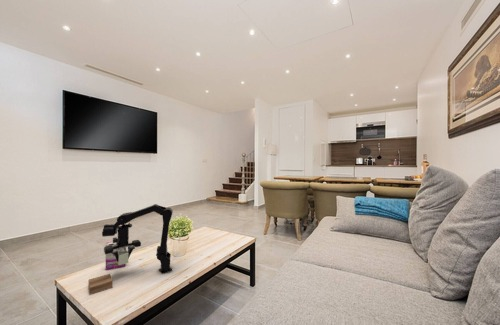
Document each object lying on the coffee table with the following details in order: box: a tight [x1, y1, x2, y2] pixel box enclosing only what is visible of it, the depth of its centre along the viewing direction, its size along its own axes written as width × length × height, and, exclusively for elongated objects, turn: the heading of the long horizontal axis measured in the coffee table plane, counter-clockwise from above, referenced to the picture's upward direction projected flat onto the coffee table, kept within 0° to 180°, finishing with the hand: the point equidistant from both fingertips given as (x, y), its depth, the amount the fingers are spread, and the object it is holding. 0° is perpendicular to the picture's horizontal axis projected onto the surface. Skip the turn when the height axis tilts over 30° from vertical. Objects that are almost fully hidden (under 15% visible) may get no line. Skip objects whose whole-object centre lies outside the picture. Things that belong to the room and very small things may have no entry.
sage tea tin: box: [117, 249, 129, 265], centre depth 126 cm, size 5×5×6 cm
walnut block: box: [88, 273, 113, 296], centre depth 114 cm, size 10×10×4 cm
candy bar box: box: [105, 241, 127, 271], centre depth 137 cm, size 11×5×16 cm, turn 117°
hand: (122, 260), depth 126 cm, fingers closed on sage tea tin, 5 cm apart
